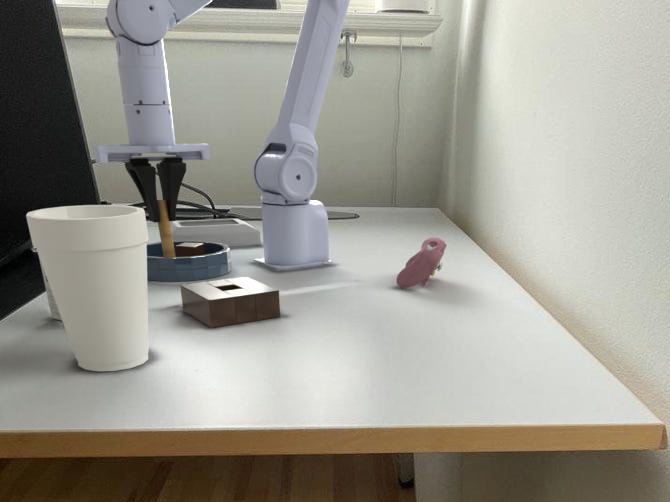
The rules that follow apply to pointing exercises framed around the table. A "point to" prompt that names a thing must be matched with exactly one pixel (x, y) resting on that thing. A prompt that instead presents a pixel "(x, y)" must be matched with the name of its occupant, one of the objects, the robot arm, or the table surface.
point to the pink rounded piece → (422, 263)
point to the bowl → (188, 263)
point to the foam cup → (97, 280)
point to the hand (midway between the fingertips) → (162, 221)
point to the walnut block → (189, 249)
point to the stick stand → (230, 301)
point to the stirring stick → (165, 230)
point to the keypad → (216, 231)
